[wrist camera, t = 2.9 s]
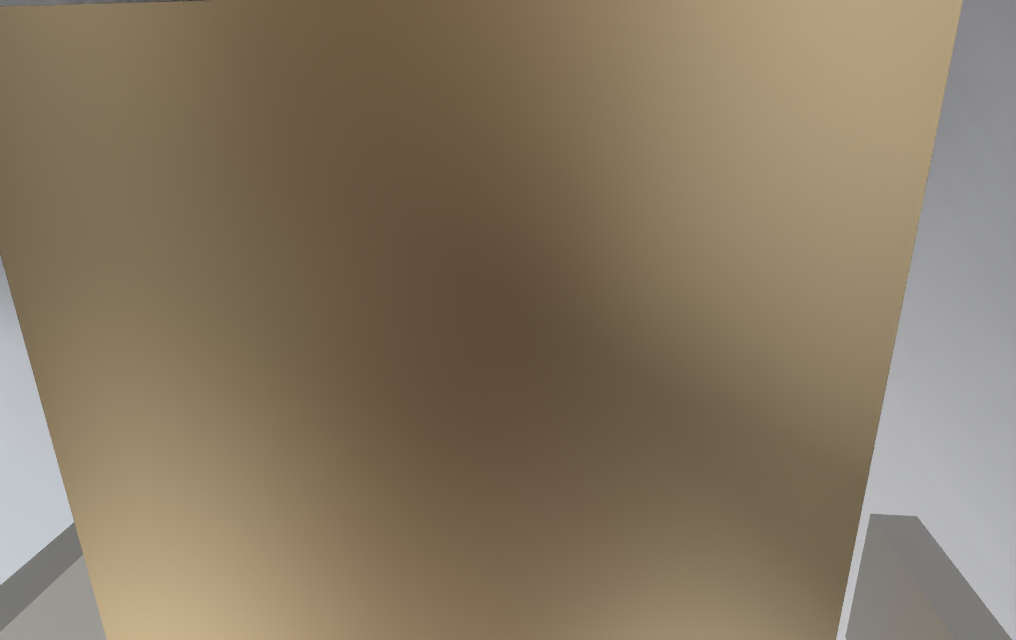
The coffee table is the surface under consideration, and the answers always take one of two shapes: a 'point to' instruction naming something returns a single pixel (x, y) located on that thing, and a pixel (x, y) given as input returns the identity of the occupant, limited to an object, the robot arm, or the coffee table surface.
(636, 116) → the board
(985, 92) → the coffee table surface
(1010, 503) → the coffee table surface
